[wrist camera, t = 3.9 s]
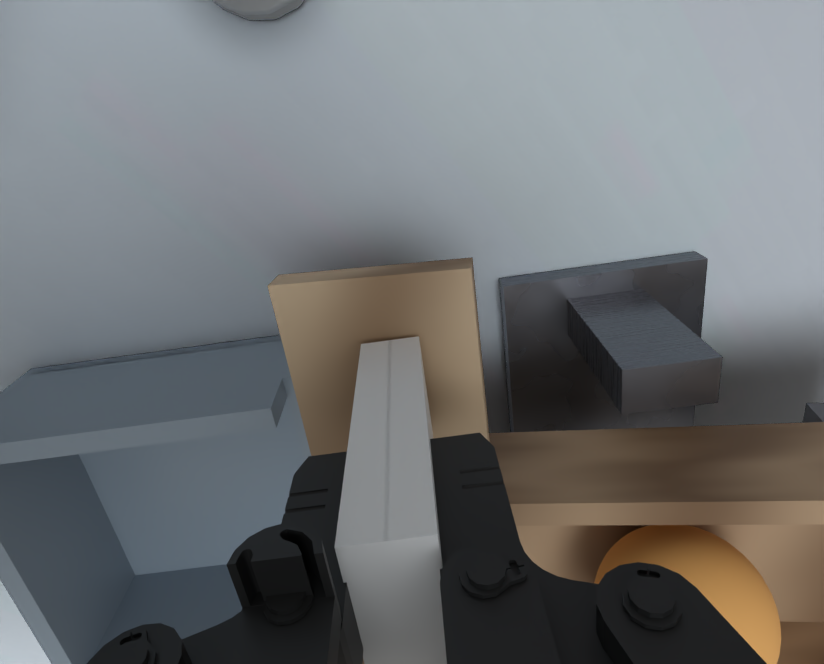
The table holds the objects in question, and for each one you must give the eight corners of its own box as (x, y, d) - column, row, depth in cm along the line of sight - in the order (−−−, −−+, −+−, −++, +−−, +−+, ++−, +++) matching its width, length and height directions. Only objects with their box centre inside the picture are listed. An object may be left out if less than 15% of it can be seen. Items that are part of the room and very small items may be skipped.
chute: (1070, 143, 16) (1402, 188, 10) (931, 554, 22) (1084, 725, 16) (320, 221, 20) (248, 287, 14) (388, 552, 26) (358, 690, 20)
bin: (130, 578, 29) (69, 693, 24) (30, 368, 24) (-77, 453, 19) (367, 549, 29) (361, 659, 23) (317, 329, 24) (294, 405, 18)
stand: (519, 548, 29) (553, 680, 23) (499, 278, 23) (538, 354, 17) (673, 530, 29) (752, 657, 23) (695, 251, 23) (811, 318, 16)
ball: (811, 734, 16) (705, 587, 20) (844, 608, 13) (717, 476, 18) (636, 770, 15) (570, 613, 20) (643, 648, 13) (567, 505, 18)
